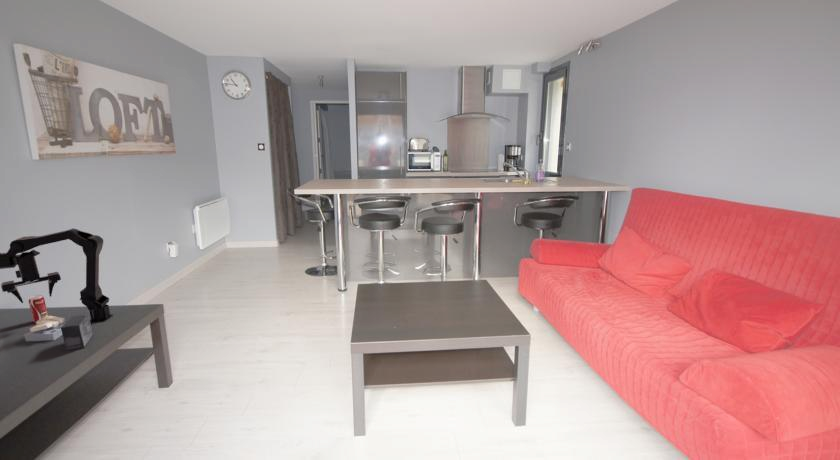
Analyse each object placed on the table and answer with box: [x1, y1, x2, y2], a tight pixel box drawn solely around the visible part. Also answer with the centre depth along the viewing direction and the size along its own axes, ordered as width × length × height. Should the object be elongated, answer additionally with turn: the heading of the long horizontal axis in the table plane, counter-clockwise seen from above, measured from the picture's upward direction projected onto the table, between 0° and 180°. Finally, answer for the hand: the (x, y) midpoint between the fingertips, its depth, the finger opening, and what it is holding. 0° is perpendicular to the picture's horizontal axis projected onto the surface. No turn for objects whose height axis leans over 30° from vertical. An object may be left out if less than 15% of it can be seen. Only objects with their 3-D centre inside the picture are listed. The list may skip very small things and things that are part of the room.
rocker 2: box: [35, 319, 59, 328], centre depth 174 cm, size 7×2×2 cm, turn 96°
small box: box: [61, 313, 95, 351], centre depth 167 cm, size 11×6×10 cm, turn 21°
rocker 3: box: [43, 314, 66, 324], centre depth 177 cm, size 7×2×2 cm, turn 96°
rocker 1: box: [29, 322, 53, 332], centre depth 171 cm, size 7×2×2 cm, turn 95°
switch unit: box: [23, 321, 67, 342], centre depth 175 cm, size 11×11×4 cm
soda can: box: [28, 294, 49, 324], centre depth 186 cm, size 5×5×12 cm
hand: (36, 299), depth 180 cm, fingers open, 9 cm apart
